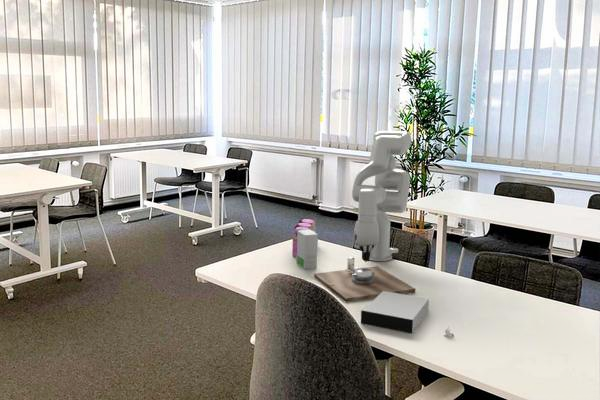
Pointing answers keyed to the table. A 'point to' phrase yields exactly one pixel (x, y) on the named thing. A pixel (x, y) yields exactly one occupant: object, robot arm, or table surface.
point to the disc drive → (395, 311)
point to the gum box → (302, 225)
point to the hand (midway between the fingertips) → (365, 260)
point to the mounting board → (362, 284)
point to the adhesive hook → (448, 332)
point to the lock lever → (359, 271)
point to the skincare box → (307, 249)
